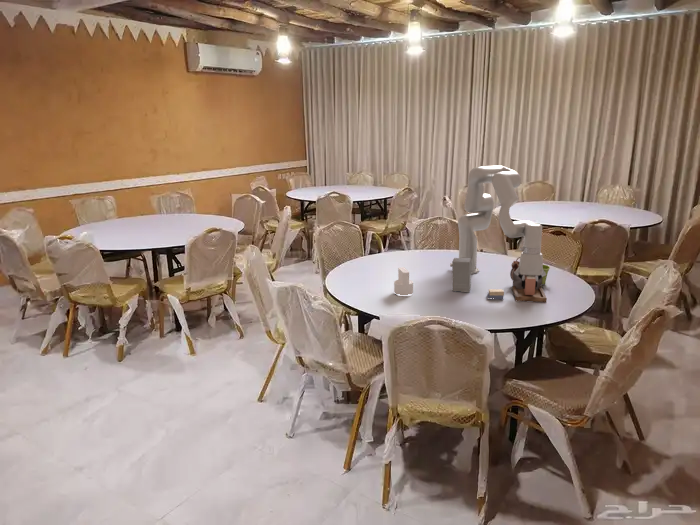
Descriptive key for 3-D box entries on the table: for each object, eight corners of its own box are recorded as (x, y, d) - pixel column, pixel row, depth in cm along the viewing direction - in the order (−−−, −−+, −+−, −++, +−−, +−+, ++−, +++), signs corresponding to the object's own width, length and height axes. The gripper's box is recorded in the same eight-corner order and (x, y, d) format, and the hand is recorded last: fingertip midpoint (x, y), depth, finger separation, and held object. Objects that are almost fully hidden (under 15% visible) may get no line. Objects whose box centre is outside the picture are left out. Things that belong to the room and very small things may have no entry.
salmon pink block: (525, 294, 232) (526, 277, 230) (523, 288, 241) (524, 272, 239) (534, 295, 232) (535, 278, 229) (532, 288, 240) (533, 272, 238)
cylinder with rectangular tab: (415, 296, 240) (415, 272, 237) (396, 297, 238) (396, 273, 235) (410, 290, 248) (410, 266, 245) (392, 291, 247) (392, 268, 244)
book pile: (487, 299, 233) (487, 291, 232) (487, 296, 237) (487, 288, 236) (503, 300, 231) (504, 292, 230) (503, 297, 235) (503, 289, 234)
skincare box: (470, 288, 248) (471, 257, 244) (469, 293, 242) (470, 261, 237) (453, 287, 251) (454, 256, 247) (451, 292, 244) (452, 260, 240)
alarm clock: (528, 283, 254) (530, 254, 250) (533, 286, 249) (535, 257, 245) (508, 285, 252) (510, 256, 248) (513, 288, 248) (514, 258, 244)
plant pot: (550, 286, 249) (551, 269, 246) (530, 285, 251) (531, 269, 248) (547, 280, 257) (548, 264, 255) (527, 280, 259) (528, 263, 257)
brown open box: (515, 300, 230) (516, 282, 228) (512, 289, 246) (513, 271, 244) (546, 302, 227) (547, 283, 225) (541, 290, 243) (542, 272, 241)
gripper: (513, 251, 229) (510, 290, 234) (552, 252, 226) (549, 291, 231) (512, 247, 236) (509, 285, 241) (549, 248, 233) (546, 286, 238)
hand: (529, 287), depth 236 cm, fingers closed on salmon pink block, 4 cm apart
